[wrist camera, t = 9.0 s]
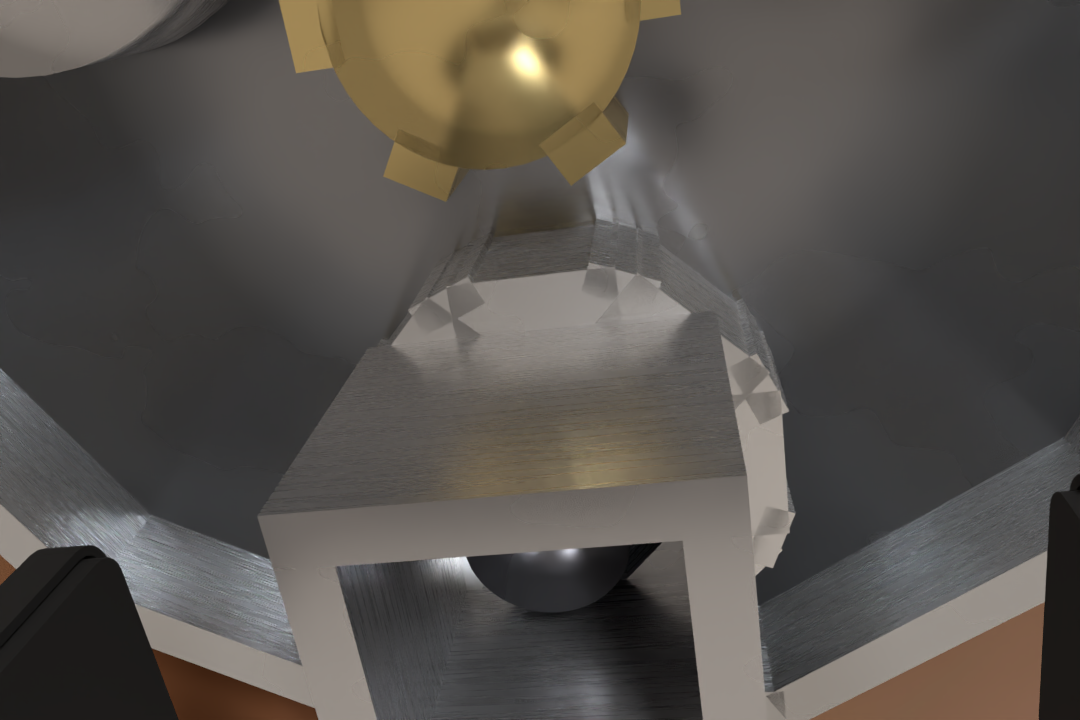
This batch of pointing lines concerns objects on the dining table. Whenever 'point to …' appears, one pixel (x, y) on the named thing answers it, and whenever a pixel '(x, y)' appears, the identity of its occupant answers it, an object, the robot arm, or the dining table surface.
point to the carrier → (533, 206)
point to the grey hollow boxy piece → (541, 492)
